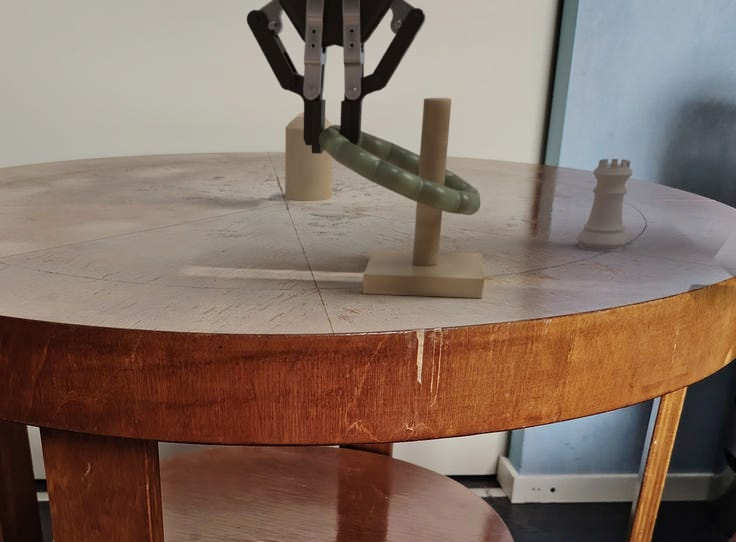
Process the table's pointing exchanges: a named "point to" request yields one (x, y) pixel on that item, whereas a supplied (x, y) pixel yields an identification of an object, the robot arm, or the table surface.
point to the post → (427, 232)
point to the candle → (305, 166)
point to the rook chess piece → (607, 208)
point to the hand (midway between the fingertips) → (332, 151)
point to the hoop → (399, 171)
